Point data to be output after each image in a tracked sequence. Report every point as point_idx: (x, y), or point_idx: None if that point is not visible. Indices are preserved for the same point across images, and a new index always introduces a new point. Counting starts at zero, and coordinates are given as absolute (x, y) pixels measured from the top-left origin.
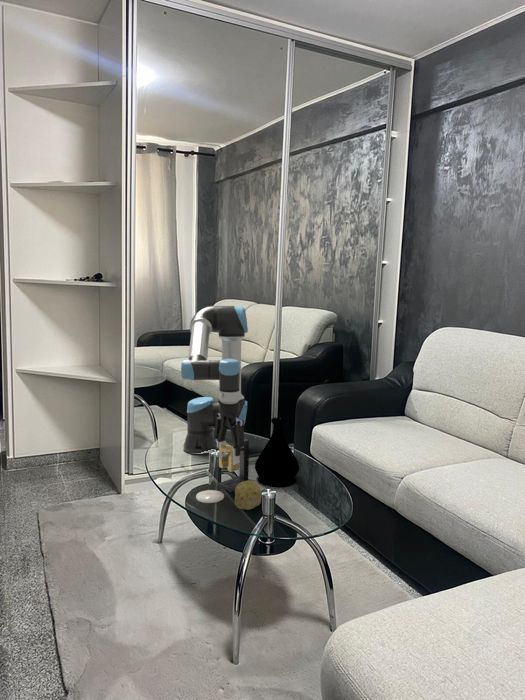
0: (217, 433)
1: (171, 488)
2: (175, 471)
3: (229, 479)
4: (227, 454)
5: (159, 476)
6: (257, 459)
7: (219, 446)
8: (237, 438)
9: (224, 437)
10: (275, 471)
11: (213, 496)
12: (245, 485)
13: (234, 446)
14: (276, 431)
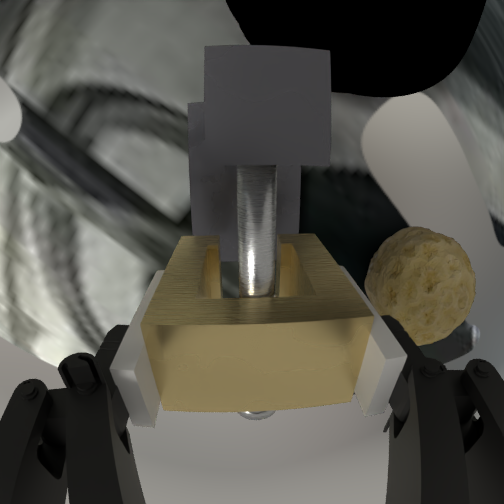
0: (62, 480)
1: None
2: (3, 285)
3: (190, 185)
4: None
5: (25, 342)
6: (288, 23)
7: (164, 407)
8: (469, 482)
9: (110, 417)
10: (446, 76)
11: None
12: (449, 332)
13: (392, 420)
14: None
